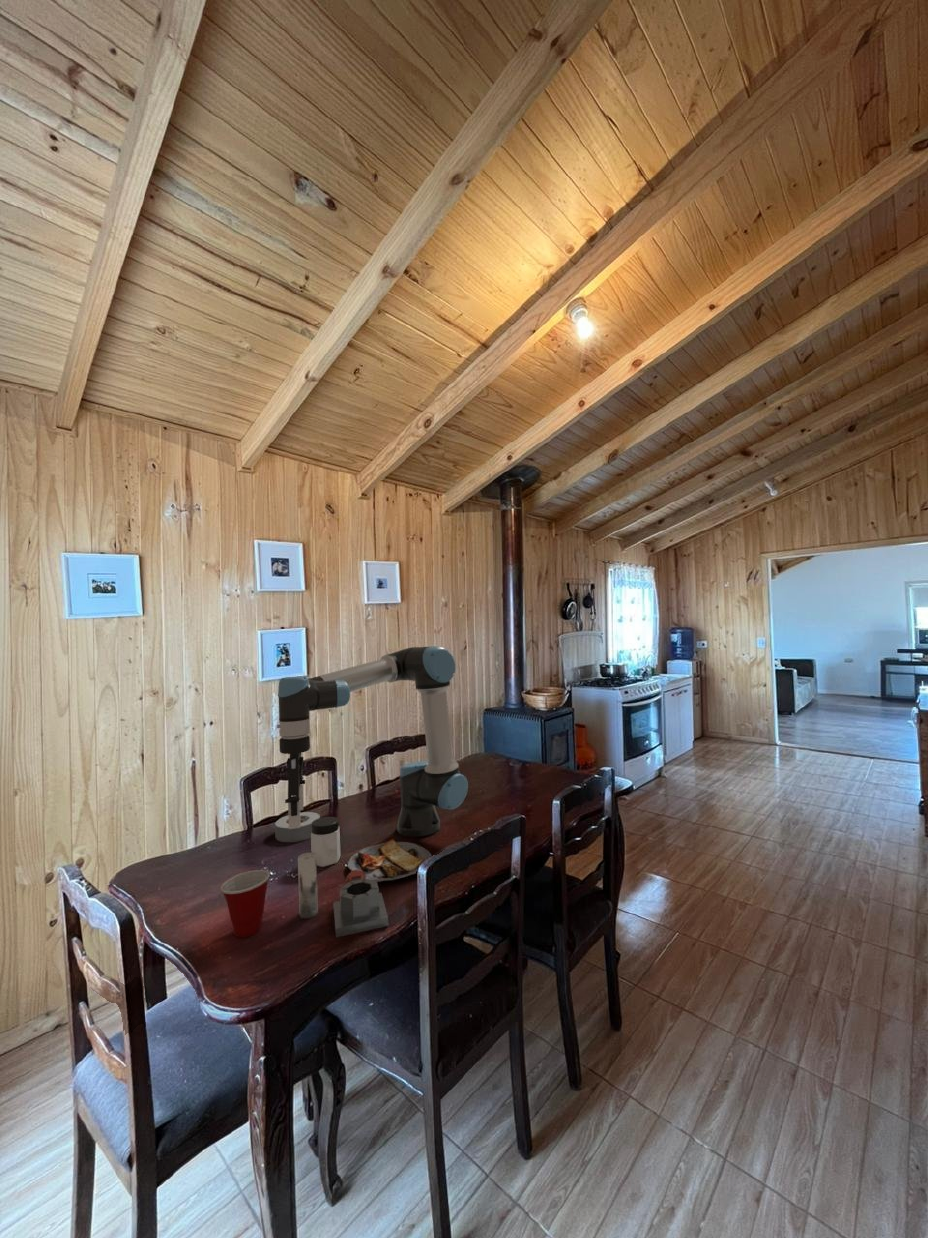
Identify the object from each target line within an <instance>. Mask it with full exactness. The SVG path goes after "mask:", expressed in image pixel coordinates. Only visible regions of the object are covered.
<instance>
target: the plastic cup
mask: <svg viewBox="0 0 928 1238" xmlns="http://www.w3.org/2000/svg"><path fill="white" fill-rule="evenodd" d="M270 875H271V874H270V871H267V870H265V869H256V870H255V869H254V870H249V871H245V872H242V873H238V874H237V875H235V876H232V877H230V878H229V879H227V880H226V881H224V882H223V884H221V886H220V892H222V893H223V895H224V898H225V901H226V903H227V908H228V914H229V917H230V922H231V925H232V929H233V933H234V935H235V936H236V937H237V938H248V937H250V936H253V935H255V934H256V933H258V932H259V931H260V929H261V927H262V922H263V917H264V910H265V905H266V904H265V901H266V895H267V894H266V893H267V890H268V889H267V887H268V883H269V878H270V877H271V876H270Z"/></svg>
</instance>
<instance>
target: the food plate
mask: <svg viewBox="0 0 928 1238" xmlns="http://www.w3.org/2000/svg"><path fill="white" fill-rule="evenodd" d="M430 856H431V857H432V853H431V852H430V851H429V850H428V849H426V848H425V847H423V846H421V845H419V844H417V843H413V842H409V841H407V842H406V841H395V839H394V838H391V839H389V841H386V842H382V843H377V844H373V845H369V846H367V847H364V848H361V849H360V850H358V851H357V852H355V853H354V854H352V855H351V856H350V857H349V859H348V861H347V864H346V866H347V868H348V869H349V870H350V872H351V871H353V870H361V871H363V872H364V874H365V877H366V879H369V880H373V881H377V883H378V882H379V883H381V882H383V881H384V882H385V881H395V880H398V879H403V878H405V877H408V876H411V875H412V876H413V875H415V874H417V873H416V871H417V867H418V866H419V865H420V864H421V863H422V862H423V861H424V860H426V859H427V858H429V857H430ZM401 871H402V872H405V873H404V874H401V873H402V872H401ZM385 876H387V877H386V878H385Z"/></svg>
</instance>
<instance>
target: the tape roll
mask: <svg viewBox="0 0 928 1238" xmlns="http://www.w3.org/2000/svg"><path fill="white" fill-rule="evenodd" d="M319 818H321V816H320V814H319V813H317V812H312V811H304V812H300V823H301V827H300V828H295V829H289V816H288V814H287V815H285V816H282V817H280V818H279V819H278V820H276V822H275V823H274V833H275V834H274V835H275V836H274V837H275V839H276V840H277V841H278V842H282V843H296V842H300V841H301V842H302V841H305V840H306V841H307V840H308V839H311V833H312V822H313V821H314V820H316V819H319Z"/></svg>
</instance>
